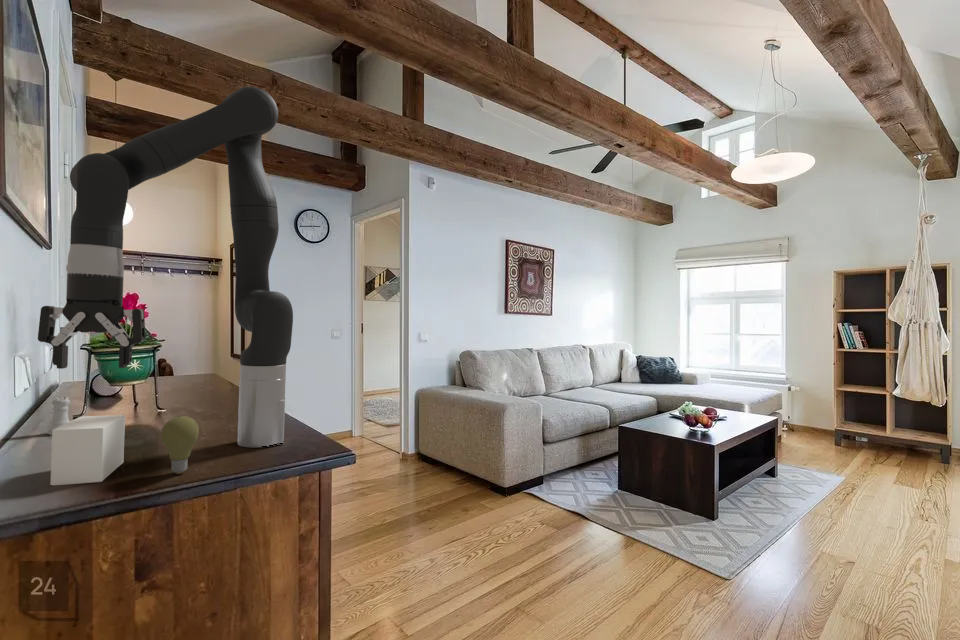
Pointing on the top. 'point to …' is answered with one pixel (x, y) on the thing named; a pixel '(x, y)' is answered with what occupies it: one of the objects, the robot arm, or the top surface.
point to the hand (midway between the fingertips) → (93, 367)
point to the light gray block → (87, 449)
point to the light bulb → (179, 441)
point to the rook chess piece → (59, 413)
